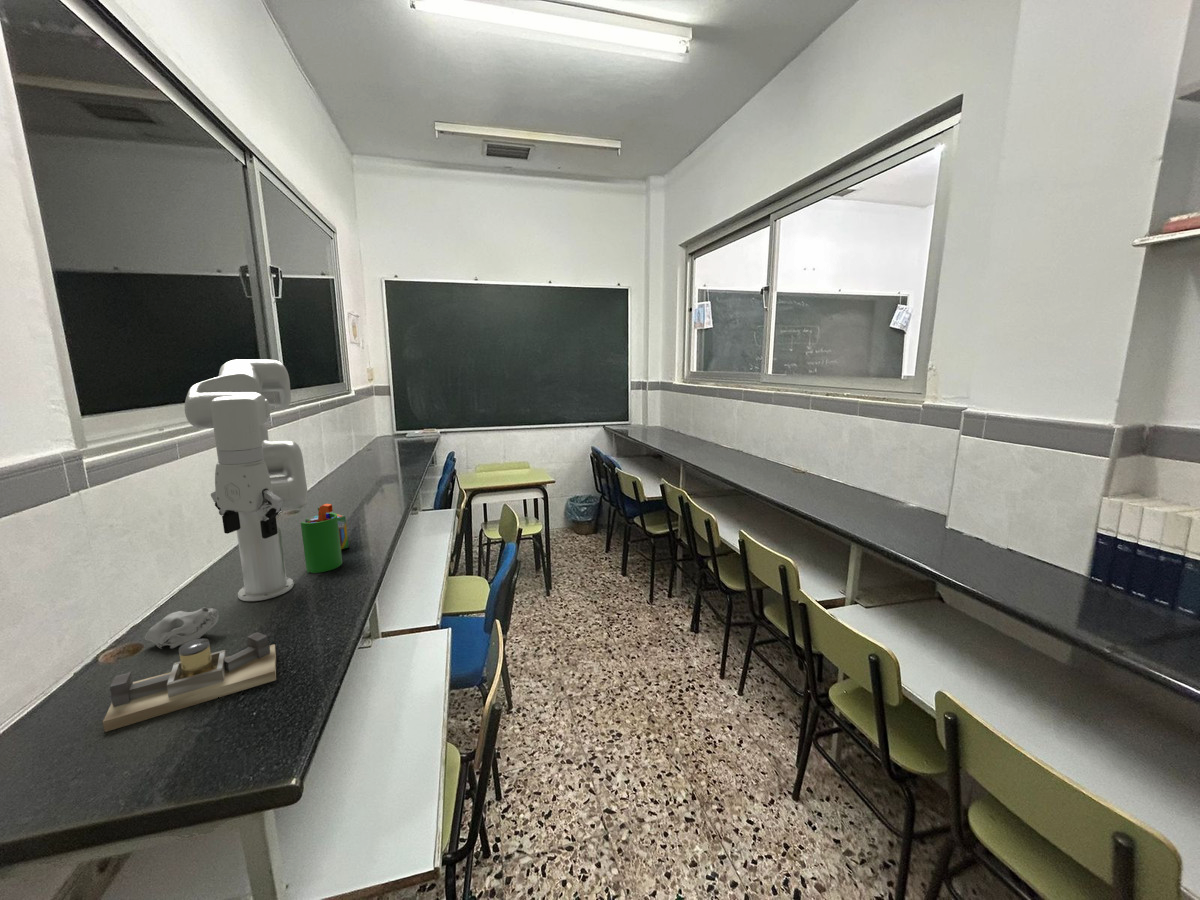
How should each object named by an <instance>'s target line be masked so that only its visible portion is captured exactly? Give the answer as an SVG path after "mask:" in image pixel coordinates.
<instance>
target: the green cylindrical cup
mask: <svg viewBox="0 0 1200 900" xmlns="http://www.w3.org/2000/svg"><path fill="white" fill-rule="evenodd" d="M318 508H319V511H318V513H317V514H318V519H316V520H312V521H309V522H307V523H305V521H302V522H300V527H301V536H302V544H303V551H304V552H303V553H304V561H305V568H306V573H309V572H311V574H317V573H318V574H319V573H324V572H329V571H332V570H335V569H337V568H339V567H340V566H342V565H343V557H342V550H341V546H340V537H339V528H338V519H337V514H338V513H336V514H334V513H335V512H333V510H334V509H333V504H331V503H324V504H322V505H320V506H319V507H318ZM326 512H327V513H326ZM331 512H332V513H331Z"/></svg>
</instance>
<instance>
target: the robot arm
mask: <svg viewBox="0 0 1200 900" xmlns="http://www.w3.org/2000/svg"><path fill="white" fill-rule="evenodd" d="M291 400H292V393H291V381H290V376H289V373H288V369H287V367H286V366H285V365H284V364H283V363H282V362H280V361H279V360H276V359H232V360H229V361H226V362H225V363H224V364H222V365H221V366H220V368H219V373H218V376H216V377H213V378H209V379H206V380H202V381H200V382H197V383H195V384H193V385H191V386H190V388H189V389H188V392H187V394H186V397H185V401H184V414H185V417H186V420H187V421H188V423H189V424H190V425H191V426H192V427H194V428H196V429H203V430H204V429H205V430H206V429H207V430H208V429H213V433H214V441H215V448H216V454H217V460H218V461H217V463H216V465H215V470H214V471H215V472H214V486H215V487H214V488H215V489H214V490H215V491H213V492H212V493H210V497H211V499H212V500H213V502H214V506H215V507H216V509H218V514H219V515H220V516H221V519H222V525H223V533H224V534H225V535H226V534H230V533H233V532H235V531H236V534H237V535H236V536H237V542H238V551H239V556H240V557H239V559H240V565H241V572H242V578H243V579H242V580H243V586H242V588H240V589H239V590H238V592H237V597H238V599H239V600H241V601H243V602H259V601H265V600H270V599H273V598H276V597H279V596H281V595H284V594H285V593H288V592H289V591H291V590H292V589H293V587H294V580H293V579H292V578H291V577H287V571H286V563H285V556H284V555H285V553H284V546H283V537H282V529H281V526H280V524H279V522H277V517H278V516H279V514H280V513H282V512H287V511H295V510H298V509H302V508H303V507H305V506H306V505H307V503H308V499H309V497H308V485H307V480H306V471H305V464H304V458H303V453H302V452H303V451H302V450H301V448H300V446H299V444H298V443H296V442H295V441H291V440H275V441H273V440H271V441H270V440H269V431H268V427H267V426H266V425H265V423H266V422H267V421H268V419H269V418H270V416H271V410H281V409H282V410H283V409H286V408H287V407H289V405H290V404H291ZM280 475H282V476H280ZM271 476H273V477H271ZM274 476H275V477H274Z"/></svg>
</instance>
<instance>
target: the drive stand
mask: <svg viewBox="0 0 1200 900" xmlns="http://www.w3.org/2000/svg"><path fill="white" fill-rule="evenodd" d="M246 639H247V647H246V648H244V649H242V650H240V651H238V652H236V653H234V654H232V655H229V656H227V654H226V653H227V651H226V649H223V650H218V651H214V652H211V657H212V664H213V670H212V671H208V672H205V673H201V674H198V675H194V676H190V677H187V678H183V674H182V667H181V661H177V662H174V663H173V665H172V669H171V671H170V672H165V673H163V674H159V675H154V676H151V677H147V678H143V679H140V680H135V681H133V676H132V672H131V671H129V672H126V673H122V674H117V675H115V676H114V678H113V680H112V682H111V684H110V686H109V689H110V699H111V703H110V706H109V707H108V710H107V712H106V714H105V716H104V717H103V720H102V726H103V731H104V733H106V732H110V731H113V730H117V729H120V728H124V727H126V726H129V725H133V724H136V723H139V722H143V721H146V720H149V719H153V718H156V717H159V716H163V715H165V714H169V713H172V712H176V711H178V710H179V711H180V710H183V709H185V708H189V707H192V706H196V705H198V704H201V703H205V702H209V701H212V700H215V699H218V697H219V698H222V697H225V696H228V695H232V694H235V693H238V692H242V691H244V690H248V689H251V688H254V687H258V686H261V685H265V684H267V683H271V682H274V681H276V680H277V650H276V644H275V643H274V644H271V645H270V642H269V636H268V635H266V634H263V633H261V632H259V631H256V632H254V633H252V634H250V635H247V636H246Z"/></svg>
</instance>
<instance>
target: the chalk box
mask: <svg viewBox="0 0 1200 900" xmlns="http://www.w3.org/2000/svg"><path fill="white" fill-rule="evenodd" d="M319 508H320V507H317V511H318V512H319ZM326 513H327V512H326ZM330 513H334V514H337V519H338V528H339V537H340V546H341V551H342V550H343V549H347V548H349V547H350V545H349V535H348V529H347V528H348V527H347V520H346V515H343V514H339V513H336V512H333V511H332V512H330ZM316 519H318V515H314V516H311V517H307V518H305V519H304V522H305V523H307V522H309V521H312V520H316Z"/></svg>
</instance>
